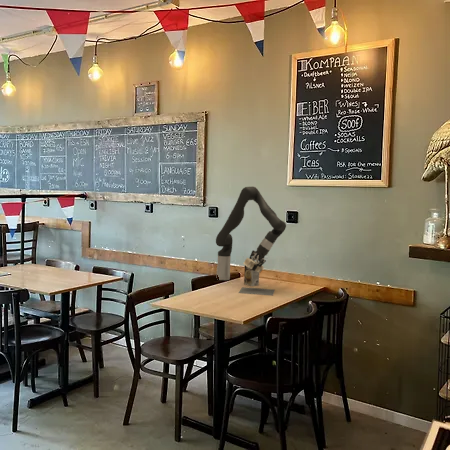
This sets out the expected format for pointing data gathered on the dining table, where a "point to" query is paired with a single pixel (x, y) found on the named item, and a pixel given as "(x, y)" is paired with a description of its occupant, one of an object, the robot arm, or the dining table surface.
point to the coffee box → (251, 277)
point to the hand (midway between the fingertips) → (250, 268)
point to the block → (251, 263)
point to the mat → (257, 291)
